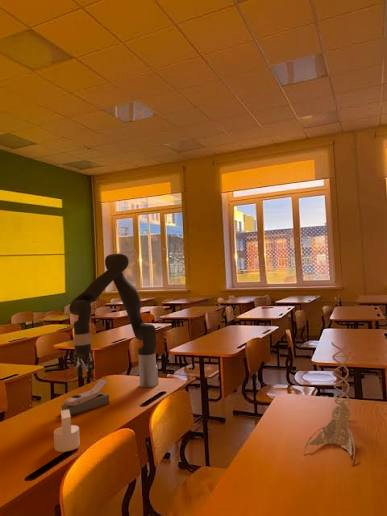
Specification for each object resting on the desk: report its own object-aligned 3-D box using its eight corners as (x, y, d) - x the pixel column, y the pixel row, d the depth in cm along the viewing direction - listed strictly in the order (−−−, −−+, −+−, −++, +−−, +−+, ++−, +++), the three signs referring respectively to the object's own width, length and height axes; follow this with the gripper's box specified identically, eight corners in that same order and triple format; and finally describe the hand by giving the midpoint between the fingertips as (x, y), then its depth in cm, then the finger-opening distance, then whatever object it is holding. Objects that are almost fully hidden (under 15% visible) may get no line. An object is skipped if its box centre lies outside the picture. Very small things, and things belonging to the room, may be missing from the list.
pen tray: (102, 400, 201) (101, 392, 201) (109, 403, 197) (108, 395, 197) (61, 413, 187) (61, 404, 187) (68, 416, 182) (68, 407, 182)
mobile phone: (109, 380, 201) (68, 395, 180) (109, 392, 201) (69, 409, 180) (100, 379, 204) (59, 394, 183) (101, 391, 204) (60, 407, 183)
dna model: (349, 411, 171) (345, 339, 171) (353, 417, 164) (349, 343, 164) (332, 412, 171) (328, 340, 171) (336, 418, 165) (332, 343, 165)
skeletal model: (302, 455, 136) (314, 388, 152) (309, 467, 141) (320, 401, 157) (352, 466, 127) (360, 393, 143) (358, 478, 133) (365, 406, 148)
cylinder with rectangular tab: (54, 443, 155) (52, 412, 155) (78, 438, 158) (77, 407, 158) (55, 453, 147) (53, 420, 147) (80, 448, 150) (79, 415, 150)
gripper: (97, 342, 189) (100, 377, 189) (82, 339, 199) (84, 373, 199) (83, 346, 184) (85, 382, 184) (67, 342, 194) (70, 376, 194)
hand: (84, 377), depth 192 cm, fingers open, 8 cm apart
